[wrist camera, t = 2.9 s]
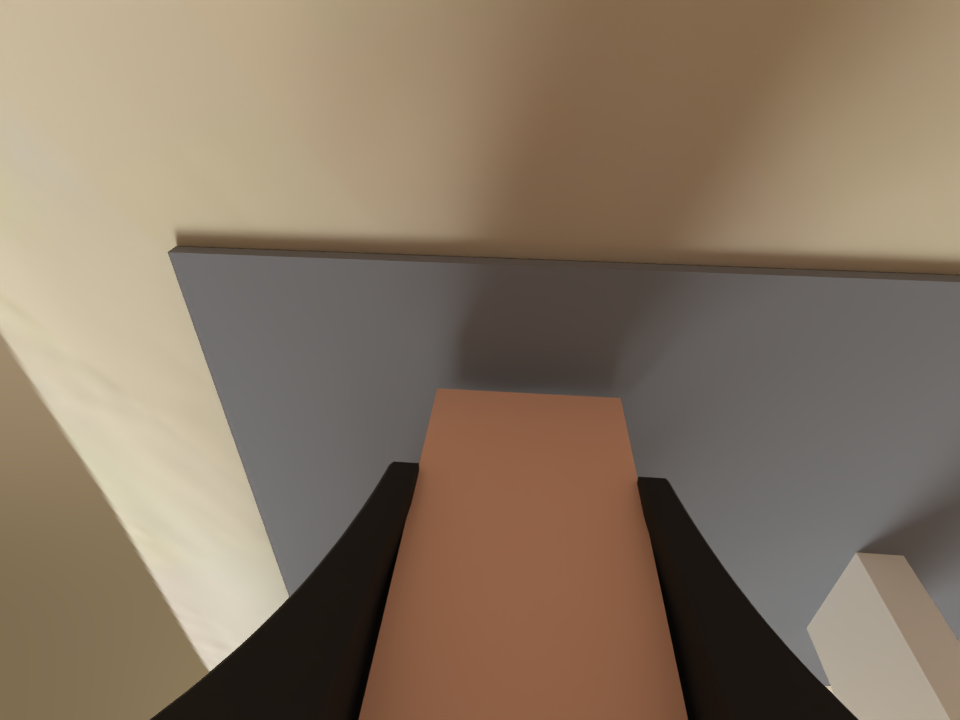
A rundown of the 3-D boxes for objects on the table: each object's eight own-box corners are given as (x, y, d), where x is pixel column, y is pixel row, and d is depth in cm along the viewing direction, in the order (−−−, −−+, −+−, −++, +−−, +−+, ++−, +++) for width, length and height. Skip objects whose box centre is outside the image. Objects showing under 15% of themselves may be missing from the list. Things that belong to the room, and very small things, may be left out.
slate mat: (307, 633, 26) (305, 640, 26) (175, 246, 15) (167, 252, 14) (1053, 695, 24) (1061, 705, 24) (1581, 298, 13) (1609, 306, 12)
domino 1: (612, 441, 16) (682, 854, 8) (439, 431, 16) (358, 820, 8) (620, 397, 15) (708, 819, 7) (436, 388, 15) (343, 782, 8)
